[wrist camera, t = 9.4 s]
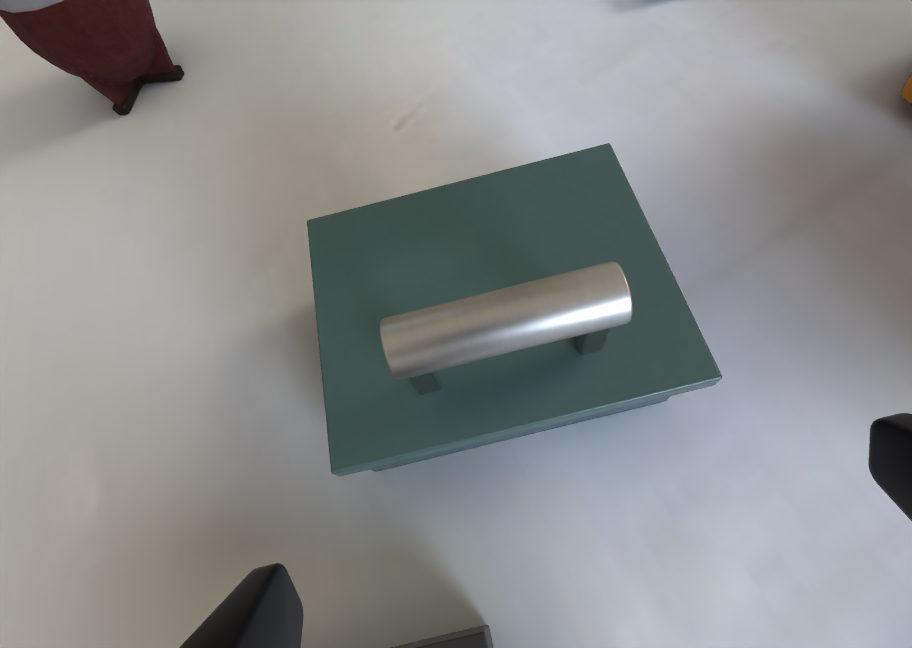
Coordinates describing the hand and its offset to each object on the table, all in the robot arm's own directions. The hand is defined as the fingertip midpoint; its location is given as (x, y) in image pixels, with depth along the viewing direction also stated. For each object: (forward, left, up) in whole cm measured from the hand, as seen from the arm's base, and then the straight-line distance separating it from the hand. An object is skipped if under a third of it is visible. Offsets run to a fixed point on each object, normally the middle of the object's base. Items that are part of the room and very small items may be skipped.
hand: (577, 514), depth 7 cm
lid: (+6, +5, -7) cm, 10 cm away
